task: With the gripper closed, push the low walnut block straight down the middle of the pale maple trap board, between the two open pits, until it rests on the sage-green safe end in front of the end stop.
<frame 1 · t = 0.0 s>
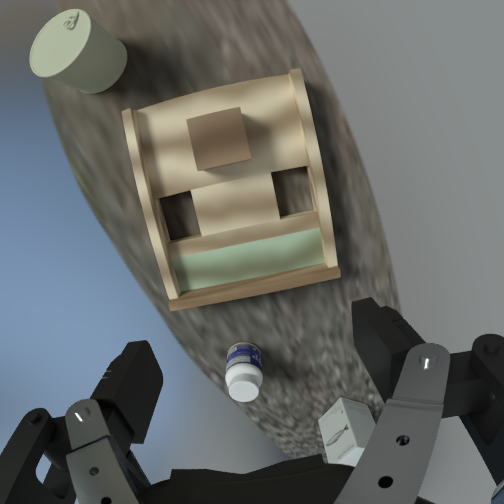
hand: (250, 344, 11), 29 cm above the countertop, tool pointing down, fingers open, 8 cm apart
trap board: (232, 187, 38), on the countertop
can: (99, 65, 32), on the countertop
pill bottle: (244, 354, 45), on the countertop
supplement box: (342, 411, 50), on the countertop
block: (221, 141, 34), point 2 cm above the countertop, touching trap board
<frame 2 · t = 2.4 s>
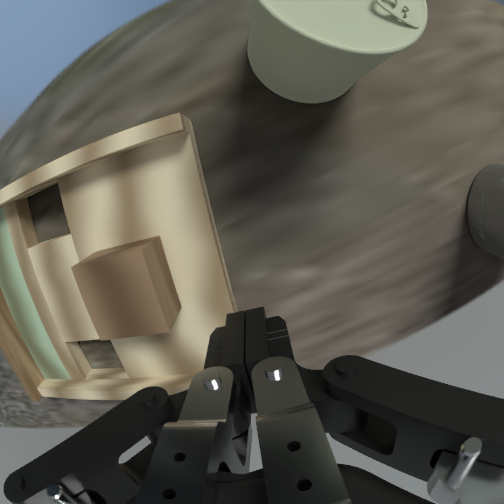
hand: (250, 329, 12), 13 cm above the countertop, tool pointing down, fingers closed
trap board: (90, 282, 25), on the countertop
can: (304, 53, 20), on the countertop
block: (137, 279, 23), point 2 cm above the countertop, touching trap board
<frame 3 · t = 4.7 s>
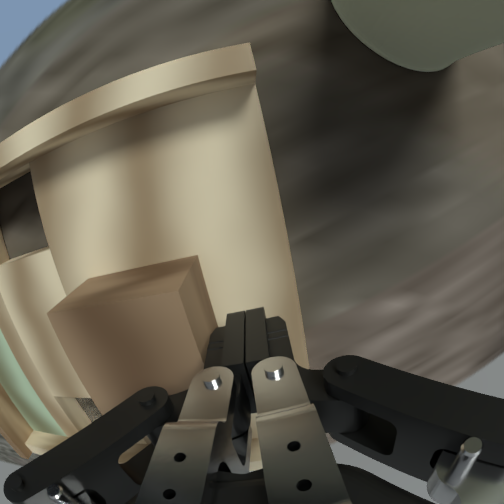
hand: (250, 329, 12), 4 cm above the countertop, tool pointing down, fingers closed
trap board: (84, 318, 16), on the countertop
can: (398, 8, 11), on the countertop
block: (157, 322, 14), point 2 cm above the countertop, touching gripper
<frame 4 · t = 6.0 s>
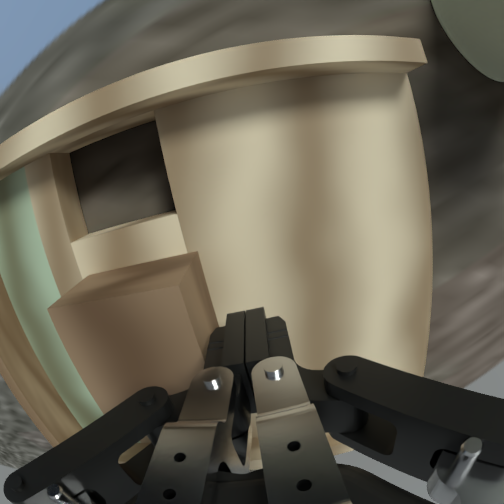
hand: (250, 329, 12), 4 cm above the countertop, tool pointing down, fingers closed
trap board: (192, 300, 16), on the countertop
can: (477, 25, 11), on the countertop
block: (157, 319, 14), point 2 cm above the countertop, touching gripper
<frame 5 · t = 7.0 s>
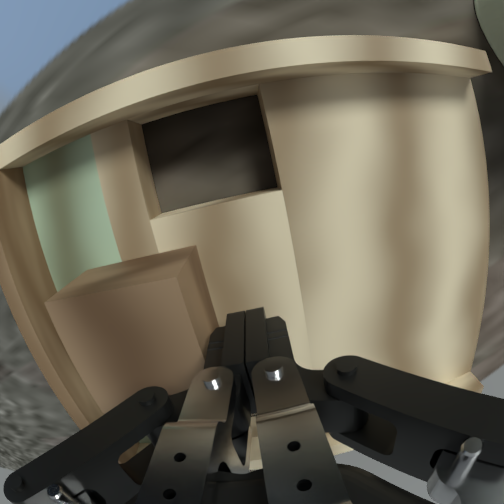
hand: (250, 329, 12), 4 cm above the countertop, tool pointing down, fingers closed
trap board: (276, 284, 16), on the countertop
block: (155, 314, 14), point 2 cm above the countertop, touching gripper, trap board
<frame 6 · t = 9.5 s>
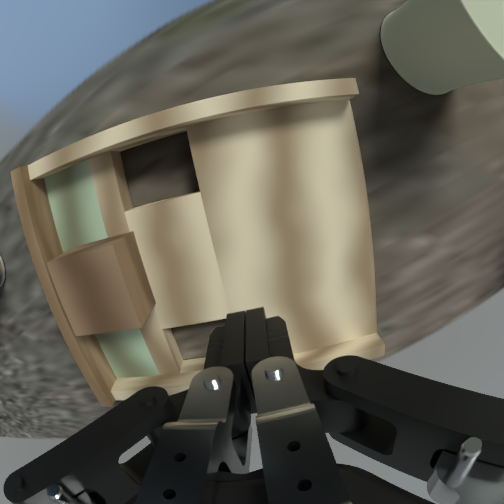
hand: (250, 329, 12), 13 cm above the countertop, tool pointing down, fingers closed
trap board: (206, 253, 24), on the countertop
can: (421, 51, 20), on the countertop
block: (112, 275, 22), point 2 cm above the countertop, touching trap board
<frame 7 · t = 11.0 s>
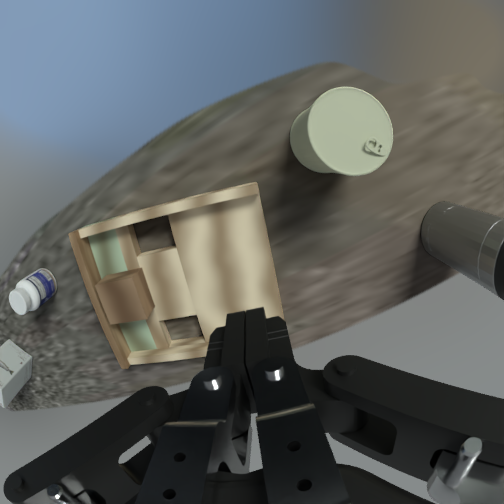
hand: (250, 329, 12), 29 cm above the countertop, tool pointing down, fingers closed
trap board: (182, 278, 42), on the countertop
can: (323, 139, 37), on the countertop
pill bottle: (47, 281, 42), on the countertop
supplement box: (20, 357, 47), on the countertop
block: (130, 290, 40), point 2 cm above the countertop, touching trap board
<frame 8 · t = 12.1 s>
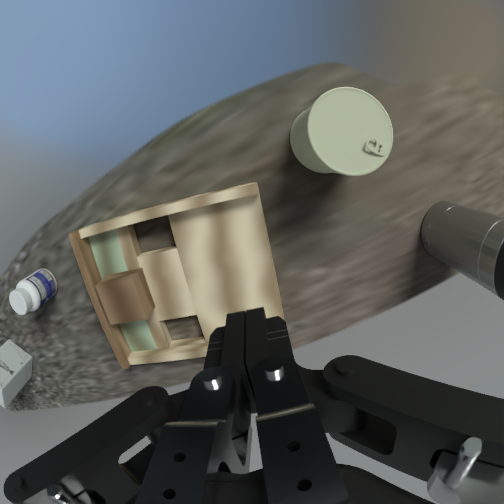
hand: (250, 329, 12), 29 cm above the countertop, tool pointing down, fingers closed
trap board: (182, 278, 42), on the countertop
can: (323, 139, 37), on the countertop
pill bottle: (47, 281, 42), on the countertop
supplement box: (21, 357, 47), on the countertop
block: (130, 290, 41), point 2 cm above the countertop, touching trap board
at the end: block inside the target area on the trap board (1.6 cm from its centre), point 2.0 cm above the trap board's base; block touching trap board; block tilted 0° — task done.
